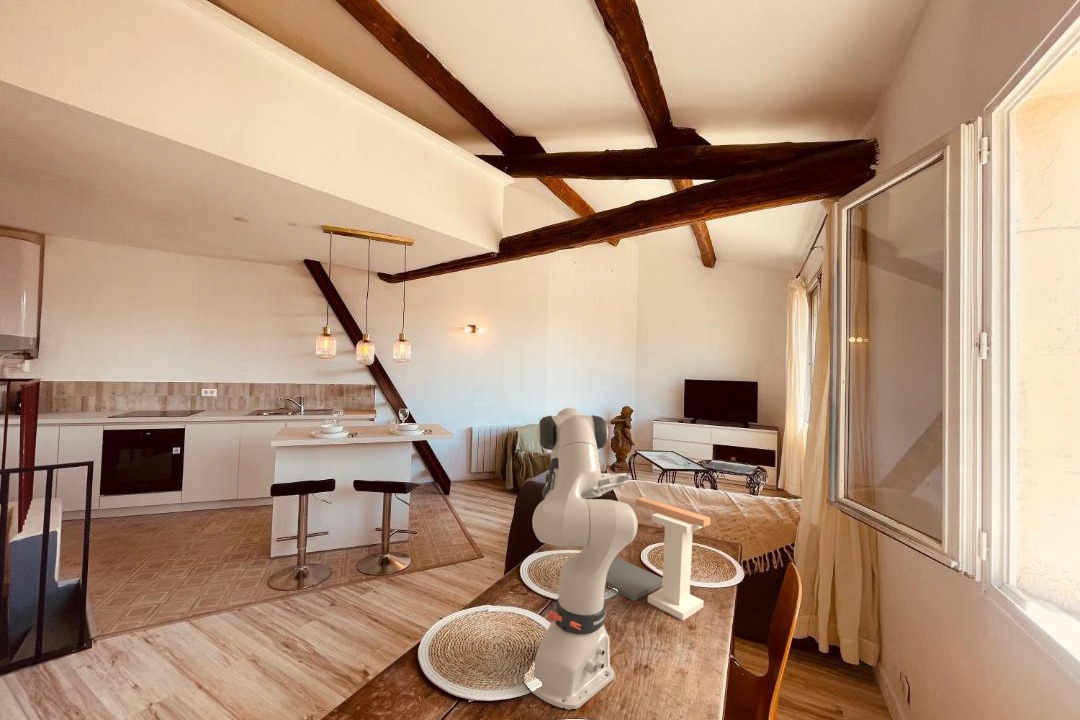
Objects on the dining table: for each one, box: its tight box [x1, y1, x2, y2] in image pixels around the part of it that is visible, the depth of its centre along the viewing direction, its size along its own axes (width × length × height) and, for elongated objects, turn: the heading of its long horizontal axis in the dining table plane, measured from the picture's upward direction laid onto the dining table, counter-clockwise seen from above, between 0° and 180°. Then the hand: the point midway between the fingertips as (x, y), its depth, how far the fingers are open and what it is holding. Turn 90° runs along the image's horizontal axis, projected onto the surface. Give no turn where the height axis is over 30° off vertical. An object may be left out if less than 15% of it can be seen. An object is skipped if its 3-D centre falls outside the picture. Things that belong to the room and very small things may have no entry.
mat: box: [605, 556, 663, 602], centre depth 148 cm, size 26×18×2 cm
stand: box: [647, 512, 704, 621], centre depth 131 cm, size 12×12×27 cm
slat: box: [635, 496, 712, 528], centre depth 134 cm, size 24×4×2 cm, turn 41°
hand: (620, 478), depth 150 cm, fingers open, 8 cm apart
